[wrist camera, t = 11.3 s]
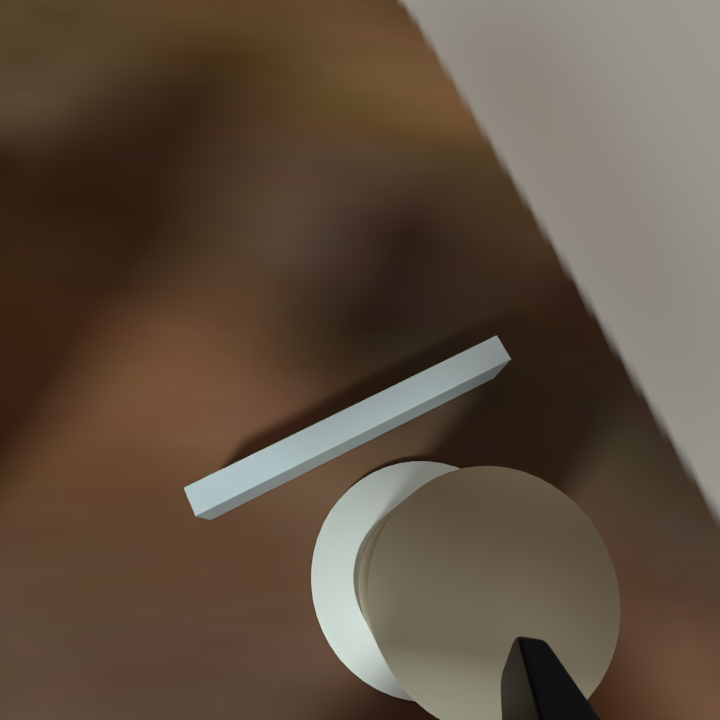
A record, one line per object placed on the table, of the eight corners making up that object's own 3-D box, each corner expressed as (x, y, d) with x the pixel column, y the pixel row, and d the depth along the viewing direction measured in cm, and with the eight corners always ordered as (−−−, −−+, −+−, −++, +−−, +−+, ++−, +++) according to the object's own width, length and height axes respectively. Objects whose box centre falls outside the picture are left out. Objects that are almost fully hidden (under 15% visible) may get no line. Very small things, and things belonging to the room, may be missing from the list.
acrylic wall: (210, 519, 22) (195, 515, 20) (199, 494, 23) (183, 488, 20) (493, 378, 24) (510, 359, 22) (481, 356, 25) (496, 335, 22)
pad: (504, 734, 21) (507, 736, 20) (279, 654, 21) (278, 655, 21) (556, 501, 23) (559, 500, 23) (352, 434, 23) (352, 432, 23)
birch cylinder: (474, 676, 21) (591, 777, 11) (333, 626, 21) (333, 683, 12) (509, 530, 22) (641, 511, 13) (378, 485, 23) (410, 434, 13)
